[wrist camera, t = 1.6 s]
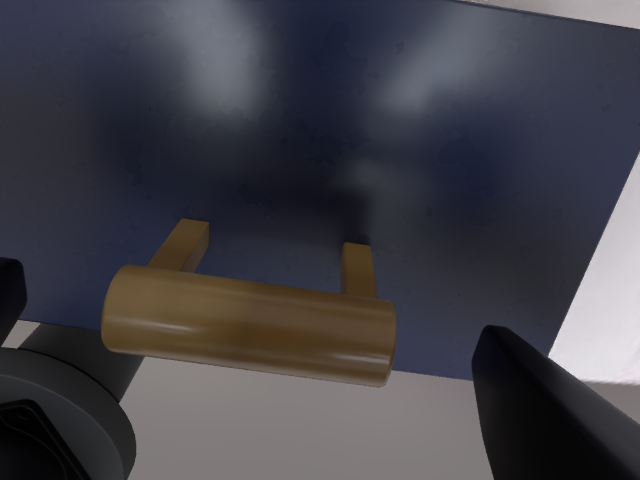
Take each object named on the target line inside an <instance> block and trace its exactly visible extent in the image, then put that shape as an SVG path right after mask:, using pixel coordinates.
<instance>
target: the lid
mask: <svg viewBox="0 0 640 480" xmlns="http://www.w3.org/2000/svg"><path fill="white" fill-rule="evenodd" d="M639 152H640V29H634V28H628V27H622V26H616V25H610V24H604V23H597V22H591V21H585V20H579V19H573V18H567V17H560V16H554V15H548V14H542V13H536V12H530V11H523V10H517V9H511V8H505V7H499V6H493V5H486V4H480V3H474V2H468V1H462V0H0V257H5V258H13V259H17V260H19V261H20V262H21V263H22V265H23V268H24V275H25V282H26V288H27V296H28V298H27V304H26V307H25V309H24V311H23V312H22V314H21V316H20V317H19V319H18V320H24V321H31V322H39V323H46V324H54V325H61V326H68V327H76V328H83V329H91V330H98V331H101V336H102V341H103V344H104V346H105V347H106V348H107V349H108V350H110V351H111V352H117V353H124V354H132V355H139V356H148V357H154V358H162V359H170V360H177V361H184V362H192V363H199V364H207V365H214V366H222V367H229V368H237V369H244V370H252V371H259V372H267V373H274V374H282V375H290V376H297V377H304V378H312V379H319V380H327V381H335V382H342V383H349V384H357V385H364V386H372V387H382V386H384V385H385V384H386V383H387V380H388V378H389V375H390V373H391V370H395V371H403V372H410V373H417V374H424V375H432V376H439V377H447V378H454V379H463V380H469V381H473V376H472V369H471V362H472V357H473V354H474V351H475V348H476V346H477V343H478V340H479V337H480V335H481V332H482V330H483V328H484V327H485V326H486V325H496V326H503V327H507V328H509V329H510V330H512V331H513V332H514V333H516V334H517V335H518V336H520V337H521V338H522V339H524V340H525V341H527V342H528V343H529V344H531V345H532V346H533V347H535V348H536V349H537V350H539V351H540V352H542V353H543V354H544V355H546V356H547V357H548V355H549V352H550V350H551V348H552V346H553V343H554V341H555V339H556V337H557V335H558V332H559V330H560V328H561V326H562V323H563V321H564V319H565V317H566V315H567V312H568V310H569V308H570V306H571V303H572V301H573V299H574V297H575V294H576V292H577V290H578V288H579V286H580V283H581V281H582V279H583V277H584V274H585V272H586V270H587V268H588V266H589V263H590V261H591V259H592V257H593V254H594V252H595V250H596V248H597V245H598V243H599V241H600V239H601V237H602V234H603V232H604V230H605V228H606V225H607V223H608V221H609V219H610V217H611V214H612V212H613V210H614V208H615V205H616V203H617V201H618V199H619V197H620V194H621V192H622V190H623V188H624V185H625V183H626V181H627V179H628V176H629V174H630V172H631V170H632V168H633V165H634V163H635V161H636V159H637V156H638V154H639Z"/></svg>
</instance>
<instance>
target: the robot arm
mask: <svg viewBox="0 0 640 480" xmlns="http://www.w3.org/2000/svg"><path fill="white" fill-rule="evenodd" d="M27 298H28V296H27V288H26V282H25V275H24V268H23V265H22V263H21V262H20V261H19V260H17V259H13V258H5V257H0V348H1V346H2V344H3V343H4V341H5V340H6V338H7V336H8V335H9V333H10V331H11V330H12V328H13V327H14V325H15V324H16V322H17V320H18V319H19V317H20V316H21V314H22V312H23V311H24V309H25V307H26V304H27ZM471 369H472V376H473V382H474V388H475V394H476V401H477V407H478V413H479V420H480V426H481V431H482V437H483V441H484V445H485V449H486V453H487V456H488V460H489V463H490V467H491V470H492V474H493V478H494V480H640V424H639V423H637V422H636V421H634V420H633V419H632V418H630V417H629V416H627V415H626V414H625V413H623V412H622V411H621V410H619V409H618V408H617V407H615V406H614V405H612V404H611V403H610V402H608V401H607V400H606V399H604V398H603V397H602V396H600V395H599V394H598V393H596V392H595V391H593V390H592V389H590V388H589V387H588V386H587V385H585V384H584V383H583V382H581V381H580V380H578V379H577V378H576V377H574V376H573V375H572V374H570V373H569V372H568V371H566V370H565V369H563V368H562V367H561V366H559V365H558V364H557V363H555V362H554V361H552V360H551V359H550V358H548V357H547V356H546V355H544V354H543V353H542V352H540V351H539V350H537V349H536V348H535V347H533V346H532V345H531V344H529V343H528V342H527V341H525V340H524V339H522V338H521V337H520V336H518V335H517V334H516V333H514V332H513V331H512V330H510V329H509V328H507V327H503V326H496V325H486V326H485V327H484V328H483V330H482V332H481V335H480V337H479V340H478V343H477V346H476V348H475V351H474V354H473V357H472V362H471ZM0 480H92V479H91V477H90V476H89V475H88V473H87V472H86V470H85V469H84V468H83V466H82V465H81V463H80V462H79V460H78V459H77V458H76V456H75V455H74V453H73V452H72V451H71V449H70V448H69V446H68V445H67V444H66V442H65V441H64V439H63V438H62V437H61V435H60V434H59V432H58V431H57V430H56V428H55V427H54V425H53V424H52V422H51V421H50V420H49V418H48V417H47V415H46V414H45V413H44V411H43V410H42V408H41V407H40V406H39V405H38V404H37V403H36V402H35V401H33V400H30V399H21V400H16V401H11V402H7V403H2V404H0Z"/></svg>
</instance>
